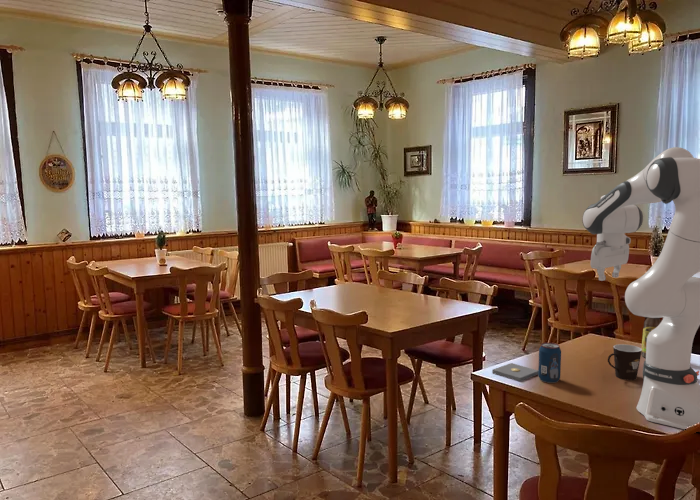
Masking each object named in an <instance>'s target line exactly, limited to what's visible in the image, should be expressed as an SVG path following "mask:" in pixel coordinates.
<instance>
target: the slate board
mask: <svg viewBox="0 0 700 500" xmlns="http://www.w3.org/2000/svg"><path fill="white" fill-rule="evenodd" d="M491 373H492V374H493V375H498V376H501V377H504V378H507V379H509V380H510V379H511V380H514V381H517V382H521V381H525V380H528V379H529V378H532V377H535V376H538V369H534V368H530V367H527V366H523V365H520V364H518V363H517V364H516V363H513V362H510V363H507V364H505V365H502V366H498V367H496V368H493V369H492V372H491Z"/></svg>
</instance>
